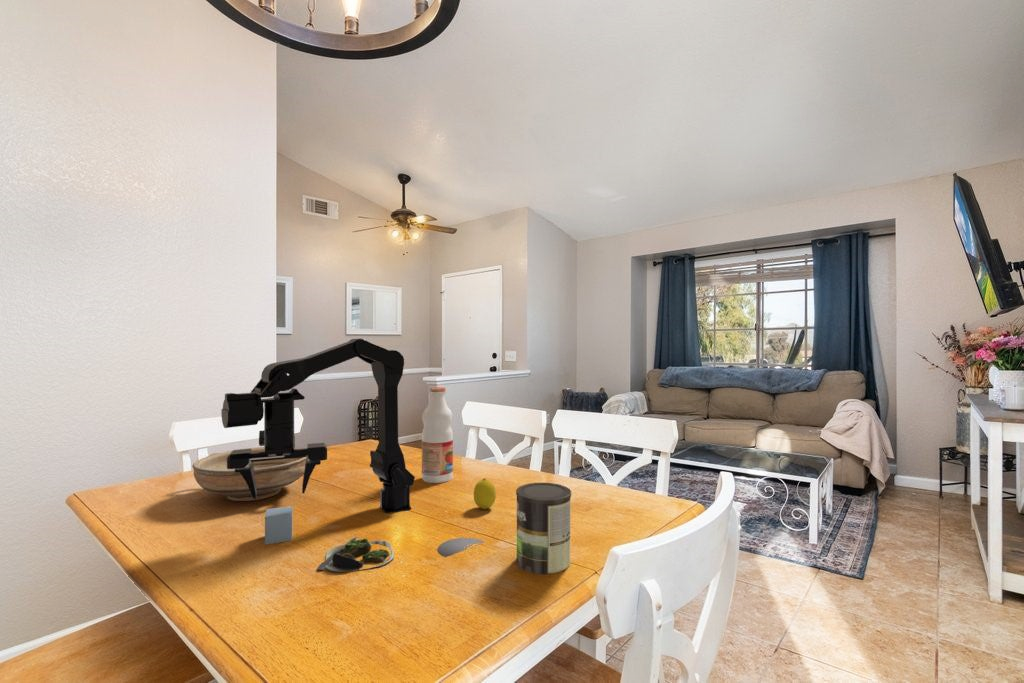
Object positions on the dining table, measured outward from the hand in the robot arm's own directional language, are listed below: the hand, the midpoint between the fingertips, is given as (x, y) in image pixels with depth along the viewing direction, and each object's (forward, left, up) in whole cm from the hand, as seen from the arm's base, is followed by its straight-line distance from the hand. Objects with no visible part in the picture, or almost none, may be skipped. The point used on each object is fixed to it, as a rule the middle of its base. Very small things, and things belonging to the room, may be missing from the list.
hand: (279, 495), depth 101 cm
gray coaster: (-34, +21, -9) cm, 41 cm away
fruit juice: (-42, -30, -9) cm, 52 cm away
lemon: (-46, +1, -9) cm, 47 cm away
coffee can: (-46, +33, -9) cm, 57 cm away
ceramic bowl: (+8, -37, -9) cm, 39 cm away
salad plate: (-14, +15, -10) cm, 23 cm away
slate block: (0, 0, -9) cm, 9 cm away
